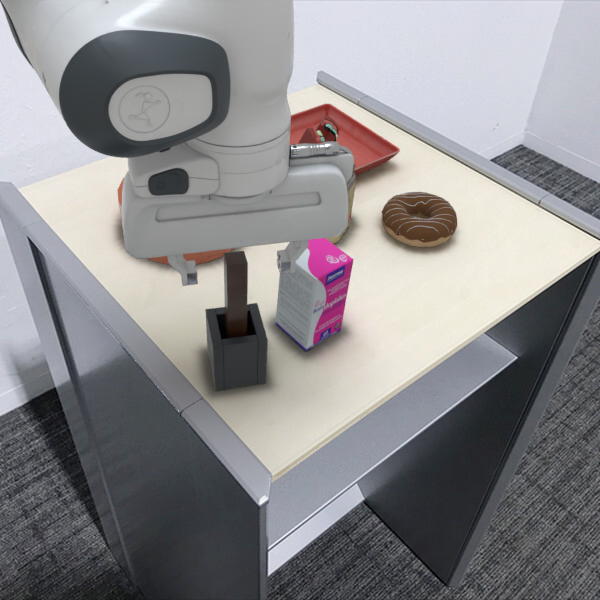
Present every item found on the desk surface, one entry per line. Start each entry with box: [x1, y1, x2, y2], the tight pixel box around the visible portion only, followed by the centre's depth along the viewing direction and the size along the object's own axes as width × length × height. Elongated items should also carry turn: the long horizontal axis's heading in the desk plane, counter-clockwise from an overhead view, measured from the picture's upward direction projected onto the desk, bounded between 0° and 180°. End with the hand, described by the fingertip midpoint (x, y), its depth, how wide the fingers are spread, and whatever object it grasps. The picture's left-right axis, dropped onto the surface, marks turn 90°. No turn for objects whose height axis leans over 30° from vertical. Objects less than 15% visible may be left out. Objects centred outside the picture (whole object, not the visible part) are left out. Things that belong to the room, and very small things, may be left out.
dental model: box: [298, 115, 339, 144], centre depth 99 cm, size 6×4×8 cm
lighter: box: [326, 163, 357, 244], centre depth 90 cm, size 7×4×10 cm, turn 155°
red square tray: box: [290, 103, 401, 176], centre depth 105 cm, size 18×18×3 cm
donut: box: [381, 191, 458, 248], centre depth 93 cm, size 11×11×4 cm
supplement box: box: [274, 238, 354, 352], centre depth 75 cm, size 6×6×12 cm
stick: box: [223, 250, 249, 339], centre depth 69 cm, size 2×2×16 cm
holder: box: [205, 302, 269, 392], centre depth 72 cm, size 6×6×7 cm
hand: (238, 275), depth 65 cm, fingers open, 8 cm apart
